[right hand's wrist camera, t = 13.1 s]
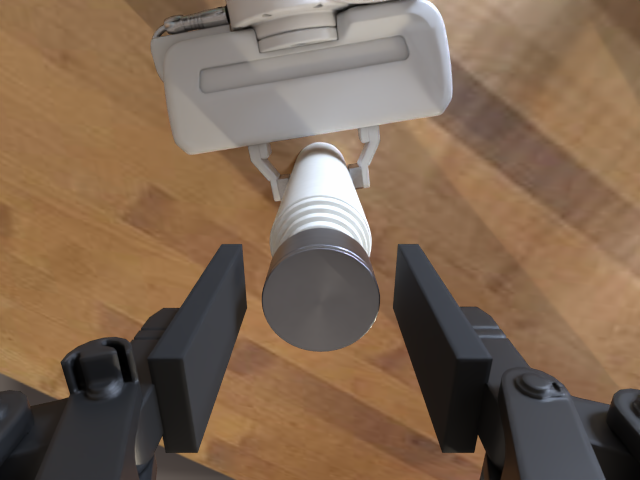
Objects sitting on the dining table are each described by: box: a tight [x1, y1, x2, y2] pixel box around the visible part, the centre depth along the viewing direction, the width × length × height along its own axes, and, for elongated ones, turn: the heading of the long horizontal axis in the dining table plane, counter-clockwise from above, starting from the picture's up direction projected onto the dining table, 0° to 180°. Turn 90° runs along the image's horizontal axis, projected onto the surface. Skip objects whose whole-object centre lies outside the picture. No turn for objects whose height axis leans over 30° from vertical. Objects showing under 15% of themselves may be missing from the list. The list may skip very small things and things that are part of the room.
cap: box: [262, 228, 380, 352], centre depth 14 cm, size 4×4×2 cm
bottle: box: [270, 142, 371, 258], centre depth 25 cm, size 5×5×24 cm
